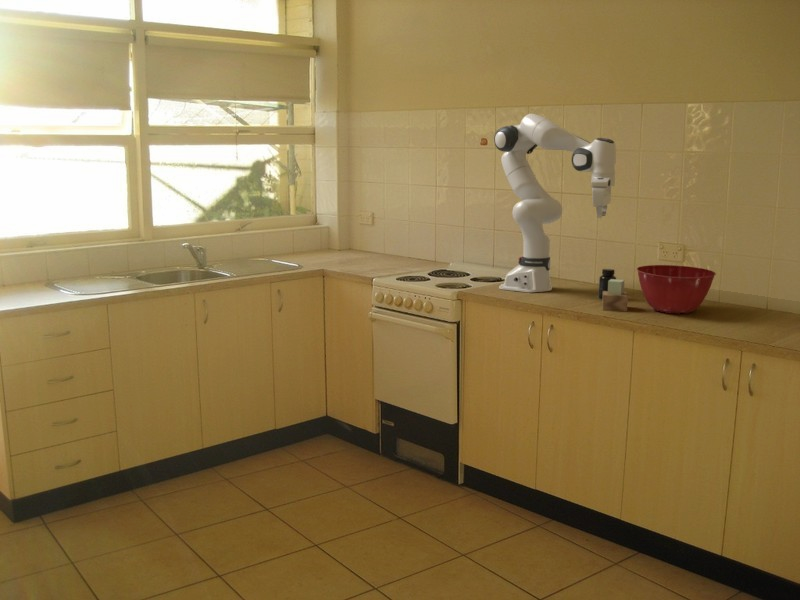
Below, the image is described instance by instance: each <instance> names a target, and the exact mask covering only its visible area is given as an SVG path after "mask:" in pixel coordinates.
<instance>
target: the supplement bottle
mask: <svg viewBox="0 0 800 600" xmlns="http://www.w3.org/2000/svg"><path fill="white" fill-rule="evenodd" d="M615 272H616V271H615V269H614V268H602V271H601V274H602V275H600V276H599V278H598V294H597V296H598V298H599V299H600V300H602V297H603V291H608V281H609V280H611V279H616V280H618V279H617V276H615Z"/></svg>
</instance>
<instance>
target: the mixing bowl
mask: <svg viewBox="0 0 800 600" xmlns="http://www.w3.org/2000/svg"><path fill="white" fill-rule="evenodd" d="M636 270H637V273H638V274H637V275H638V279H639V280H638V281H639V284H640V287H641V291H642V293H643V297H644V298H645V301H646V303H647V304H648V305H649V306H650V307H651V308H653V309H654V310H655V311H657V312H659V311H660V313H664V312H665V313H666V314H673V313H677V314H679V315H680V313H685V314H689V313H692V312H694V311H695V310H697V309H698V308H700V306H701V304H702V303H703V302H704V300H705V298H706V297H707V295H708V293H709V291H710V289H711V286H712V283H713V281H714V278H715V276H716V275H717V273H716V272H715V271H713V270H710V269H707V268H702V267H701V268H700V267H694V266H686V265H672V264H671V265H670V264H650V265H642V266H638V267H637V268H636ZM665 313H664V314H665Z"/></svg>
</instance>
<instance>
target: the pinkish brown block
mask: <svg viewBox="0 0 800 600" xmlns="http://www.w3.org/2000/svg"><path fill="white" fill-rule="evenodd" d="M601 300H602V301H601V303H602V304H601V308H602V309H601V310H602V311H607V310H618V311H617V312H628V300H629V295H628V292H627V291H624V293H623V294H622V295H613V294H608V291H603V297H602V299H601Z"/></svg>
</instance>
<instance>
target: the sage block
mask: <svg viewBox="0 0 800 600" xmlns="http://www.w3.org/2000/svg"><path fill="white" fill-rule="evenodd" d="M616 279H617V278H616ZM616 279H611V280H609V281H608V294H613V295H622V294H623V293H624V292H625V279H617V280H616Z"/></svg>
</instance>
